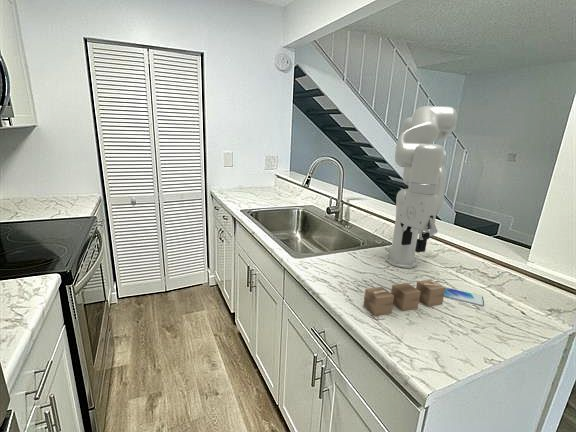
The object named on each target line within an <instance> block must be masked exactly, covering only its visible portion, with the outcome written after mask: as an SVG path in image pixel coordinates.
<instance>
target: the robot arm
mask: <svg viewBox="0 0 576 432" xmlns="http://www.w3.org/2000/svg"><path fill="white" fill-rule="evenodd" d="M457 121H458V112H457V110H456V109H455V108H454V107H453V106H445V105H444V106H443V105H442V106H439V105H425V106H424V105H423V106H420V107H418V108H417V109H415V111H414V112H413V114H412V116H410V117H407V118H405V120H404V121H403V124H402V130H401V131H402V133H401V134H400V135H399V137H398V139H397V142H396V144H395V145H396V146H395V153H394V161H395V164H396V165H397V166H398V167H401V168H403V173H402V180H403V183H404V184H405V185H407V186H408V188H402V189H400V190H399V191H398V192H397V194H396V197H395V199H396V201H395V203H396V204H395V205H396V209H395V211H396V212H395V221H394V228H393V229H394V230H393V235H392V236H393V237H392V242H391V246H389V248H388V247H387V248H386V251H387V252H388V253H389V254H388V255H387V256H385V261H386V262H387V263H388V264H390V265H392V266H395V267H398V268H402V269H403V268H404V269H414V268H415V267H417V266H418V261H417V260H416V259H415V255H416V253H425V252H426V248H427V243H428V242H427V241H428V240H430V238H431V237H433V236H434V235H436V234H438V232H439V231H438V229H437V226H436V224H435V223H436V218H437V216H438V215H440V214H441V212H442V210H443V208H444V202H445V201H444V198H445V191H446V184H447V169H446V167H445V166H444V164H445V161H446V156H447V151H446V150H445V149H444V146H443V145H441V144H437V143H436V144H434V142H435V141H436V140H438V141H439V140H440V141H441V140H443V141H444V140H446V139H448V138H449V137H450V135H451V134H452V132H453V131H454V130H455V128H456V125H457ZM413 267H414V268H413Z"/></svg>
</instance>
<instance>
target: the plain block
mask: <svg viewBox="0 0 576 432" xmlns="http://www.w3.org/2000/svg"><path fill="white" fill-rule="evenodd" d="M390 293H391V294H392V295H394V300H393V305H394V307H396V308H397V309H399V310H400V311H401V312H408V311H411V310H413V311H414V310H417V309H419V303H420V301H419V299H420V293H421V291H419V290H418V289H416V287H414V286H413V285H412V284H410V283H408V282H405V283H397V284H392V286H391V291H390Z"/></svg>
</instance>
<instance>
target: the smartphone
mask: <svg viewBox="0 0 576 432" xmlns="http://www.w3.org/2000/svg"><path fill="white" fill-rule="evenodd" d="M444 287H445V293H444V298H445V299H451V300H454V301H460V302H462V303H463V302H464V303H468V304H472V305H474V306H479V307H485V302H484V301H485V300H484V296H483V295H479V294H476V293H471V292H467V291H462V290H458V289H454V288H450V287H446V286H444Z"/></svg>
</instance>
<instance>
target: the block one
mask: <svg viewBox="0 0 576 432" xmlns="http://www.w3.org/2000/svg"><path fill="white" fill-rule="evenodd" d="M393 300H394V295H392V294H391V291H388V290H387V289H386V288H385V287H383V286H378V287H372V288H371V287H370V288H365V290H364V299H363V308H365V309H366V310H367V311H368V312H369V313H370V314H372V316H374V317H379V316H380V317H381V316H384V315H389V314H390V315H391V314H392V311H393Z"/></svg>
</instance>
